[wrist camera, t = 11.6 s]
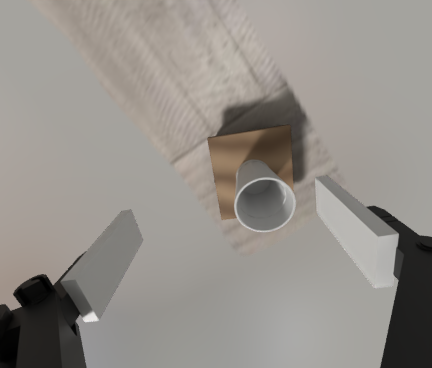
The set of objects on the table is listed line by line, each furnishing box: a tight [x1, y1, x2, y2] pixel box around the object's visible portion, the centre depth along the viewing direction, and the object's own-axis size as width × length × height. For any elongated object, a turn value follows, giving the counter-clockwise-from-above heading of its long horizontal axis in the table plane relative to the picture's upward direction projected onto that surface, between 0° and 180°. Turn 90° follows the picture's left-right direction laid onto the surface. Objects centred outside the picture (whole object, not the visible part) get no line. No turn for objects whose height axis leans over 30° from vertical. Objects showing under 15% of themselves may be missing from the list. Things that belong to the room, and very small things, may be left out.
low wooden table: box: [208, 125, 294, 220], centre depth 43 cm, size 16×14×6 cm
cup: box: [234, 160, 296, 232], centre depth 35 cm, size 8×8×12 cm
